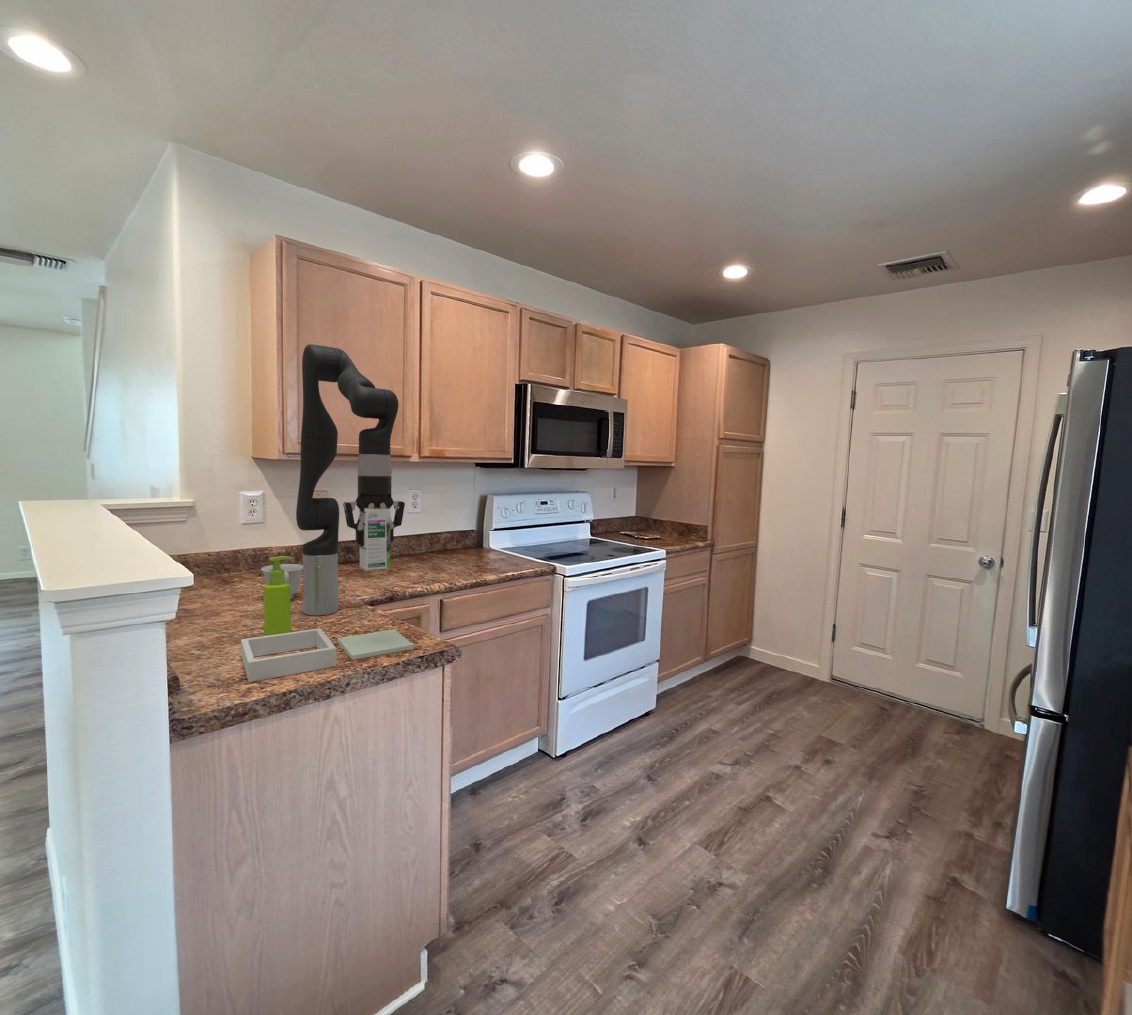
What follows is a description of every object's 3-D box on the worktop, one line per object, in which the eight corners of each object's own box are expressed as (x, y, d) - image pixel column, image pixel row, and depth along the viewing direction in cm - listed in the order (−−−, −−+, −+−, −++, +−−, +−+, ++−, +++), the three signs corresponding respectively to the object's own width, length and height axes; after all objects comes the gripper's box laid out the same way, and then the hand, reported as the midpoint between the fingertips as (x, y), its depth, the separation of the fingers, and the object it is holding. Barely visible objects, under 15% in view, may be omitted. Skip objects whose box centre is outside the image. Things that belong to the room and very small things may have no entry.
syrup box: (366, 571, 125) (366, 508, 124) (359, 566, 130) (358, 506, 128) (390, 568, 128) (391, 508, 127) (383, 564, 133) (383, 506, 132)
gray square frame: (241, 656, 121) (241, 639, 120) (320, 644, 130) (320, 628, 130) (248, 682, 107) (248, 662, 107) (336, 666, 117) (336, 648, 116)
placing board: (337, 642, 132) (337, 638, 132) (394, 632, 140) (394, 629, 140) (352, 659, 121) (352, 655, 121) (413, 648, 129) (413, 644, 129)
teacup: (264, 607, 160) (263, 574, 159) (260, 596, 173) (259, 565, 172) (308, 602, 167) (308, 570, 166) (301, 592, 179) (301, 562, 178)
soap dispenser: (299, 635, 136) (298, 557, 134) (269, 641, 131) (268, 560, 129) (289, 630, 140) (288, 553, 138) (260, 636, 135) (259, 556, 133)
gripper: (399, 473, 134) (399, 541, 136) (338, 473, 126) (339, 544, 127) (410, 475, 128) (409, 545, 130) (346, 474, 120) (346, 549, 121)
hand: (374, 544), depth 128 cm, fingers closed on syrup box, 5 cm apart
